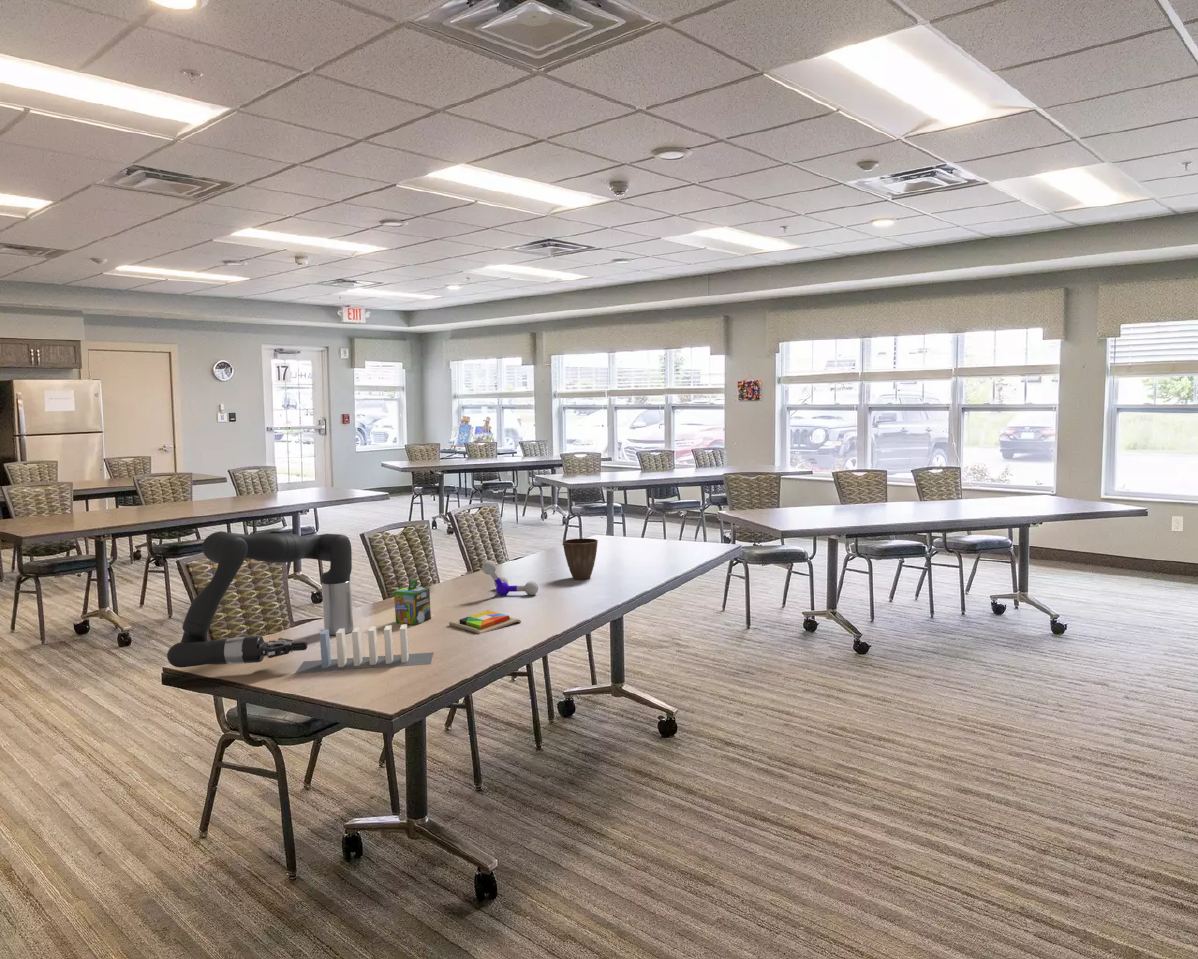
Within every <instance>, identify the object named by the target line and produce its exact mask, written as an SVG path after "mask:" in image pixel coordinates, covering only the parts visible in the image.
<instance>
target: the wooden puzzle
mask: <svg viewBox="0 0 1198 959" xmlns="http://www.w3.org/2000/svg"><path fill="white" fill-rule="evenodd" d="M458 620H459V621H455V622H454V621H448V625H449V626H451V627H455V628H459V629H462V630H463V631H464V630H465V631H468V632H472V633H475V634H478V635H479V634H481V635H482V634H485V633H488V632H493V631H496V630H499V629H501V628H504V627H507V626H509V625H511V624H515V623H519V624H522V620H521V619H519V618H516V617H512V616H510V615H507V614H504V613H500V612H495V611H494V610H493V611H492V610H485V611H484V610H483V611H482V612H478V613H476V614H473V615H469V616H466V617H462V618H459V619H458Z"/></svg>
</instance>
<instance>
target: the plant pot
mask: <svg viewBox="0 0 1198 959" xmlns="http://www.w3.org/2000/svg"><path fill="white" fill-rule="evenodd" d="M598 542H599V539H596V538H584V537H583V538H571V539H566V540H563V541H562V546H563V551H564V556H565V560H566V563H567V567H568V568H569V569H568V570H569V572H570V574H571V577H572V579H573V580H576V581H577V580H578V581H579V580H580V581H581V580H588V579H591V576H592V574H593V570H594V567H595V564H596V563H595V562H596V557H597V553H598V552H597V551H598V550H597V549H598Z"/></svg>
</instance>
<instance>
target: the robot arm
mask: <svg viewBox="0 0 1198 959" xmlns="http://www.w3.org/2000/svg"><path fill="white" fill-rule="evenodd" d="M201 550H202V553H203V555H204V556H205V557H206V558H207V559H208V560H210V562H213V563H215V564H217V567H216V570H215V573H214V575H213V576H212V578H211V579H210V581H209V582H208V584H207V585H206V586H205V587H204V588H203V589H202V590H200V592H199V593H198V594H197V595H196V596H195V597H194V599H193V600H192V602H191V603H190V606H189V608H188V610H187V613H186V614H185V617H184V620H183V622H182V630H183V635H182V638H181V641H180V642H176V643H174V644H173V645H171V647H170V648H168V651H167V653H166V659H167V662H168V663H169V664H170V665H171V666H173V667H175V668H182V669H183V668H190V667H197V666H205V665H227V664H228V665H229V664H230V665H240V664H253V663H254V664H255V663H261V662H262V661H263V660H264V658H265V657H266V656H267V658H268V659H272V658H276V657H281V656H285V655H288V654H290V653H293V652H298V651H306V650H307V649H308V641H307V640H306V641H294V640H293V639H288V638H283V637H279V638H278V639H270V640H269V641H264V640H265V639H264V638H263V636H262V635H253V636H250V635H249V636H239V637H238V636H237V637H231V638H221V639H213V640H207V637H208V636H207V635H208V632H209V629H210V627H211V624H212V622H213V620H214V618H215V615H216V612H217V610H218V607H219V605H220V603H221V601H222V600H223V597H224V595H225V594H226V593H227V590H228V589H229V588H230V586H231V584H232V582H233V581H234V579H235V577H236V575H237V573H238V572H239V570H240V568H241V567H242V565H243V563H244V561H245V559H248V560H253V561H254V560H255V561H259V562H263V563H264V562H265V563H271V564H272V563H273V564H277V563H278V564H280V563H282V564H283V563H293V562H297V561H300V560H304V559H306V560H316V561H323V562H330V564H329V569H328V571H325V572H323V573H322V574H321V576H320V577H321V578H320V581H321V582H320V583H321V592H322V593H321V594H322V609H323V624H324V625H323V626H324V630H327V629H329V636H330V635H331V636H336V632H337V631H338V629H343V628H345V634H349V633H352V631H353V630H354V619H353V618H354V617H353V604H352V603H353V602H352V590H351V589H352V588H351V574H352V571H353V570H352V569H353V566H352V565H353V564H352V563H353V562H352V561H353V560H352V558H353V556H352V554H353V552H352V543H351V541H350V538H349V537H348V536H347V535H346V534H345V535H344V534H339V533H323V534H316V535H310V536H309V535H307V536H306V535H305V536H304V535H301V534H300V535H299V534H295V533H289V532H288V533H285V532H284V533H282V532H281V533H280V532H279V533H277V532H276V533H253V534H252V533H251V534H250V533H236V532H229V531H221V530H220V531H215V532H213V533H210V534H209V535H208V536H206V538H205V539H204V541H203V542H202V546H201Z"/></svg>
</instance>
